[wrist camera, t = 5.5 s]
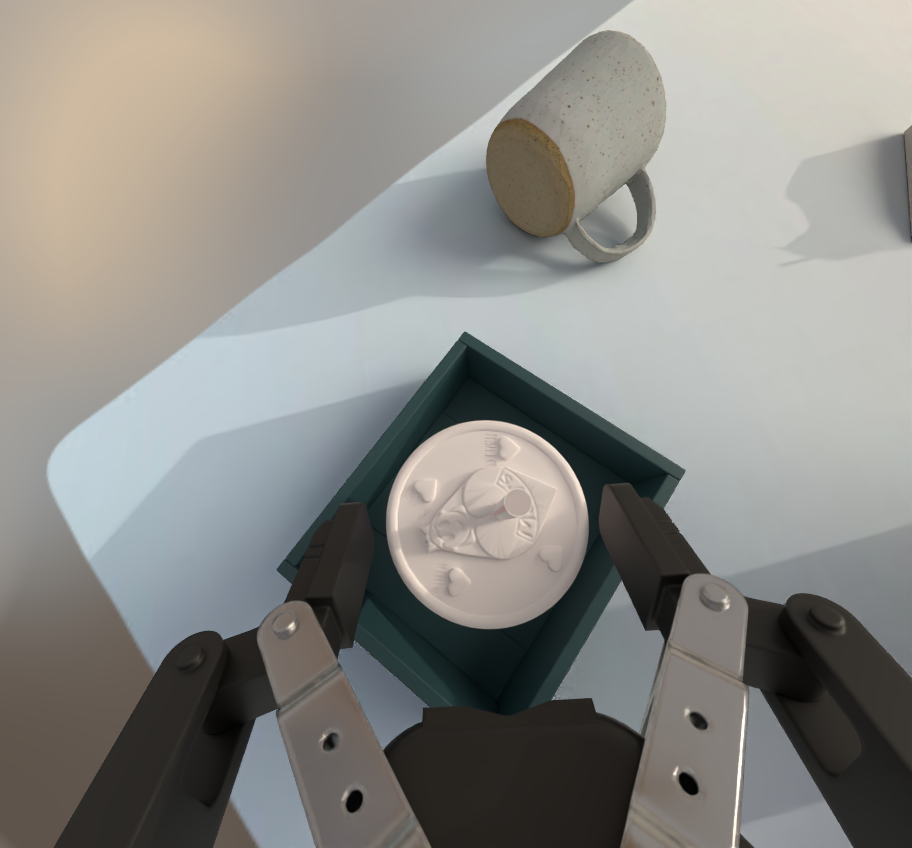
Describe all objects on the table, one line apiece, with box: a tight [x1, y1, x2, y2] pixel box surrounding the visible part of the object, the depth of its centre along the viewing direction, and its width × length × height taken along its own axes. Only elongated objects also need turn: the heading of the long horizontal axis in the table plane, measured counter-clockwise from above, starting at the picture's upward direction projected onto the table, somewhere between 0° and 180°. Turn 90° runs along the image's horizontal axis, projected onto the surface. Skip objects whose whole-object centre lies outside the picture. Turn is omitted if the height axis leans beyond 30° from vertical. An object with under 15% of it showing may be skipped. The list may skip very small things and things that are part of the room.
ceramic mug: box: [486, 30, 666, 262], centre depth 22 cm, size 11×8×8 cm
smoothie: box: [386, 420, 589, 629], centre depth 14 cm, size 6×6×14 cm
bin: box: [277, 332, 686, 716], centre depth 19 cm, size 14×12×4 cm
